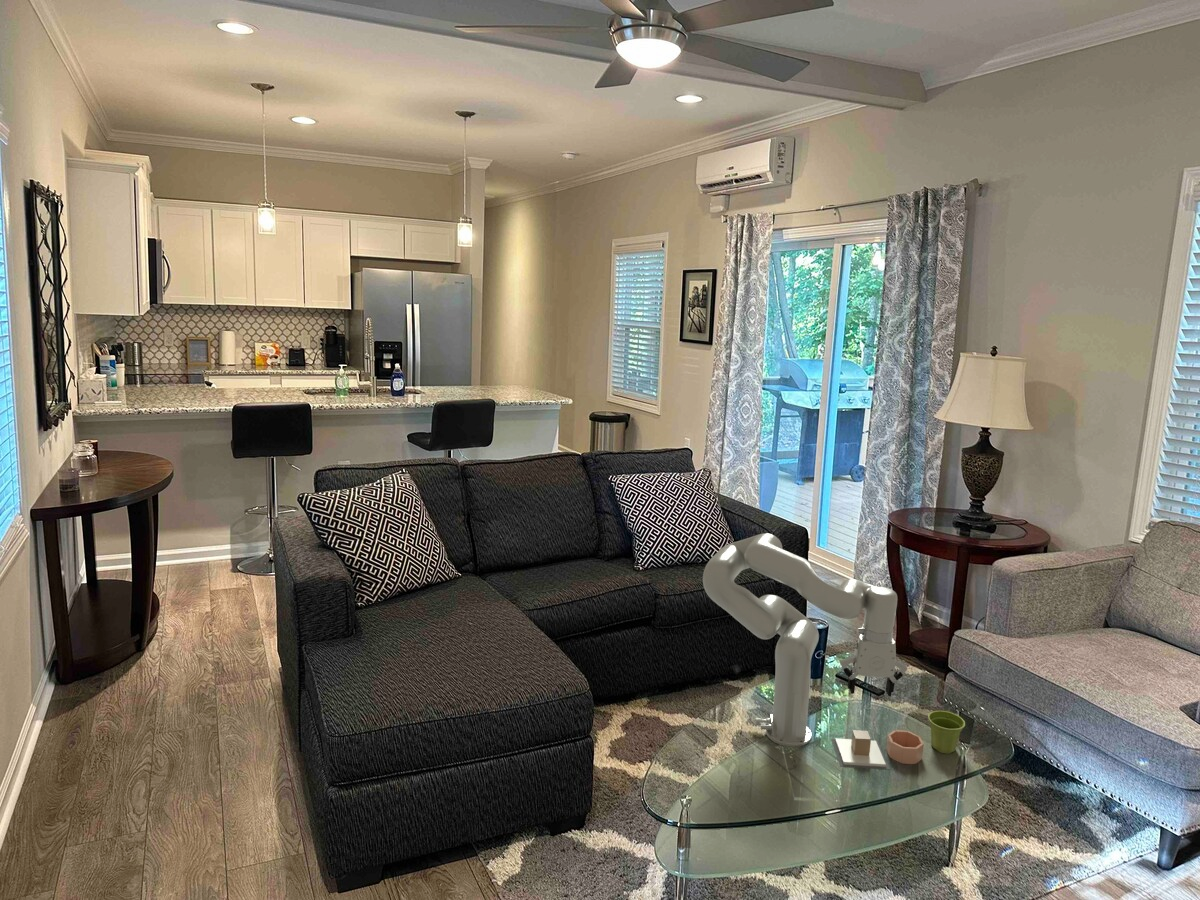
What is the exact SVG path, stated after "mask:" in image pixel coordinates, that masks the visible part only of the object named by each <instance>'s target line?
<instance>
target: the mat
mask: <svg viewBox="0 0 1200 900" xmlns="http://www.w3.org/2000/svg"><path fill="white" fill-rule="evenodd" d="M835 739H836V738H830V740H831V743H832V746H833V749H834V752H835V755H836V758H837V761H838V764H839V767H841V768H856V769H858V768H859V769H873V770H874V769H876V770H889V771H890V770H891V768H890V765H889V763H888V761H887V759H886V756H885V754H884V751H883V750H882V749H883V748H882V747H881V744H880V742H879V741H877V740H875V741H876V742H877V745H878V747H879V749H880V752H881V754H882V756H883V759H884V761H885V763H886V767H878V766H861V765H844V764H843V762H842V759H841V756H840V753H839V750H838V747H837V744H836V742H835Z"/></svg>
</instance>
